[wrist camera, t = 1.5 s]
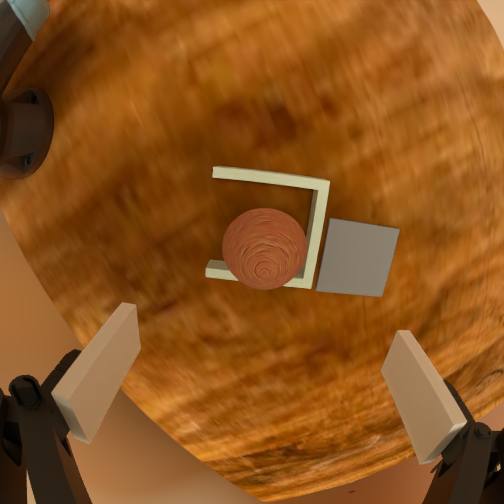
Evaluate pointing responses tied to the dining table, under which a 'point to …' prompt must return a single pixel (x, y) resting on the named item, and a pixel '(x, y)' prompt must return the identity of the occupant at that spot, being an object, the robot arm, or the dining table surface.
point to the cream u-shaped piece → (314, 226)
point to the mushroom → (264, 248)
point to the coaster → (356, 257)
